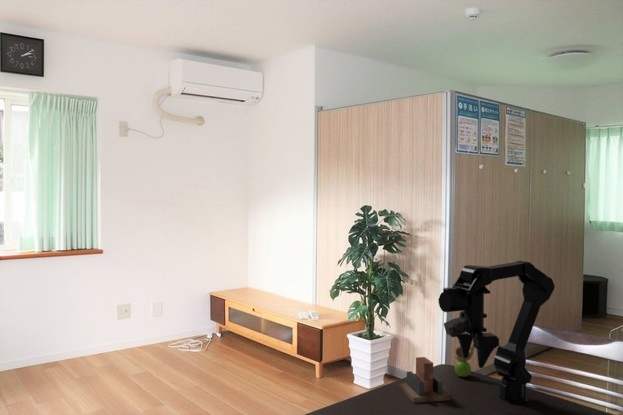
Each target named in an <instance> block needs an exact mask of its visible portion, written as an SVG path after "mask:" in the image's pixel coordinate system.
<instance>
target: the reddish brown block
mask: <svg viewBox="0 0 623 415" xmlns="http://www.w3.org/2000/svg"><path fill="white" fill-rule="evenodd" d="M433 374H434V362H432V361H431V360H430V359H428V358H427V357H426V356H420V357H419V356H417V357H415V375H416V376H417V377H418V378H419V379H421V380H422V381H423V382H424V393H430V392H433Z"/></svg>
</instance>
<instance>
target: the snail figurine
mask: <svg viewBox="0 0 623 415" xmlns="http://www.w3.org/2000/svg"><path fill="white" fill-rule="evenodd" d="M473 344H474V343H473V342H472V345H471V347H470V351H469V354H468V357H467V358H464V357H463V354H462V350H461V347H460V345H459V346H457V347H456V349H455V352H454V353H455V355H456V356H455V359H457V362H455V364H454V371H455V374H457V376H458V377H461V378H465V377H468V376H469V375H470V374H471V372H472V366H471V364H470V363H469V361H470V360H471V359H472V357H473V355H474V352H475V347H474V346H473Z"/></svg>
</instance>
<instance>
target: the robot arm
mask: <svg viewBox="0 0 623 415" xmlns="http://www.w3.org/2000/svg"><path fill="white" fill-rule="evenodd" d="M514 277H518V280H519V282H521V283H522V284H523V285H522V289H521V290H522V296H523V301H522V304H521V307H520V310H519V312H518V315H517V317H516V320H515V322H514V326H513V327H512V331H511V334H510V336H509V339H508V341H507V343H506V344H505V345H504V346H502V345H500V338H499V337H498V336H497V335H496V334H493V333H492V332H487V331H488V330H487V327H486V326H484V325H485V324H484V323H485V322H484V320H485V318H487V317H488V314H487V313H485V312H484V311H485V309H484V308H485V295H487V294H488V295H489V294H491V291H490V290H489V289H488V288H487V286H489V285H491V284H492V283H493V282H494V281H498V280H504V279H509V278H510V279H511V278H514ZM442 290H443V291H442V292H441V293H440V294H439V297H438V306H439V308H440V310H441V311H442V312H443V313H451V312H454V313H455V312H459V316H458V317H456V318H452V319H450V320H448V321H445V322H444V323H443V326H444V330H445V333H446V335H448V336H450V337H451V338H457V340H458V343H459V346H460V347H461V350H462V354H463V357H464V358H467V357H468V354H469V353H470V347H471V346H474V349H476V353H477V364H478V368H479V369H483V368H484V367H485V365H486V363H487V361H488V359H489V357H490V356H491V354H492V353H493V351H494V349H496V353H495V355H494V356H493V359H494V361H493V365H494V367H495V370H496V372H497V375H498V376H500V377H501V382H500V386H499V388H500V389H499V392H500V393H498V397H500V398H501V399H503V400H504V401H506V402H507V403H508V404H522V403H530V400H529V399H528V398H527V396H526V394H527V384H529V383H531V379H532V378H533V376H532V375H533V374H531V373H530V372H529V370H527V368H526V363H527V358H526V353H525V350H526V346H527V344H528V341H529V339H530V336H531V333H532V330H533V327H534V325H535V323H536V319H537V317H538V315H539V311H540V309H541V307H542V306H543V305H544V304H545V303H546V302H547V301H549V300H550V298H551V296H552V295H553V293H554V291H555V284H554V280H553V279H552V278H551V277H550V276H548V275H547V274H545V273H544V272H542V271H541V270H539V268H537V267H535V266H534V264H532V263H531V262H530V261H524V260H516V261H515V262H514V261H513V262H507V263H500V264H494V265H489V266H483V265H472V264H471V265H470V264H468V265H467V264H466V265H464V266H463V267H462V269H461V271H460V273H459V275H458V276H457V277H456V280H455V281H454V283H453V284H452V287H443V289H442ZM473 343H474V344H473Z"/></svg>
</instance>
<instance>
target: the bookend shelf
mask: <svg viewBox="0 0 623 415" xmlns="http://www.w3.org/2000/svg"><path fill="white" fill-rule="evenodd" d="M443 382H444V381H443V380H442V379H440V377H438V376H437V375H436V374H435V373H433V392H430V393H424V382H423V381H422V380H421V379H419V378H418V377H417V376H416V373H414V372H412V371H406V382H402V383H398V390H400V391H401V392H402V394H404V395H405V396H406V397H407V398H408V399H409V400H410V401H411V402H412V403H413V404H415V403H430V402H442V401H452V395H451V394H450V393H449V392H448V391H447V390H446V389H444V388H443V387H444V386H443V385H444V383H443Z"/></svg>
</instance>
